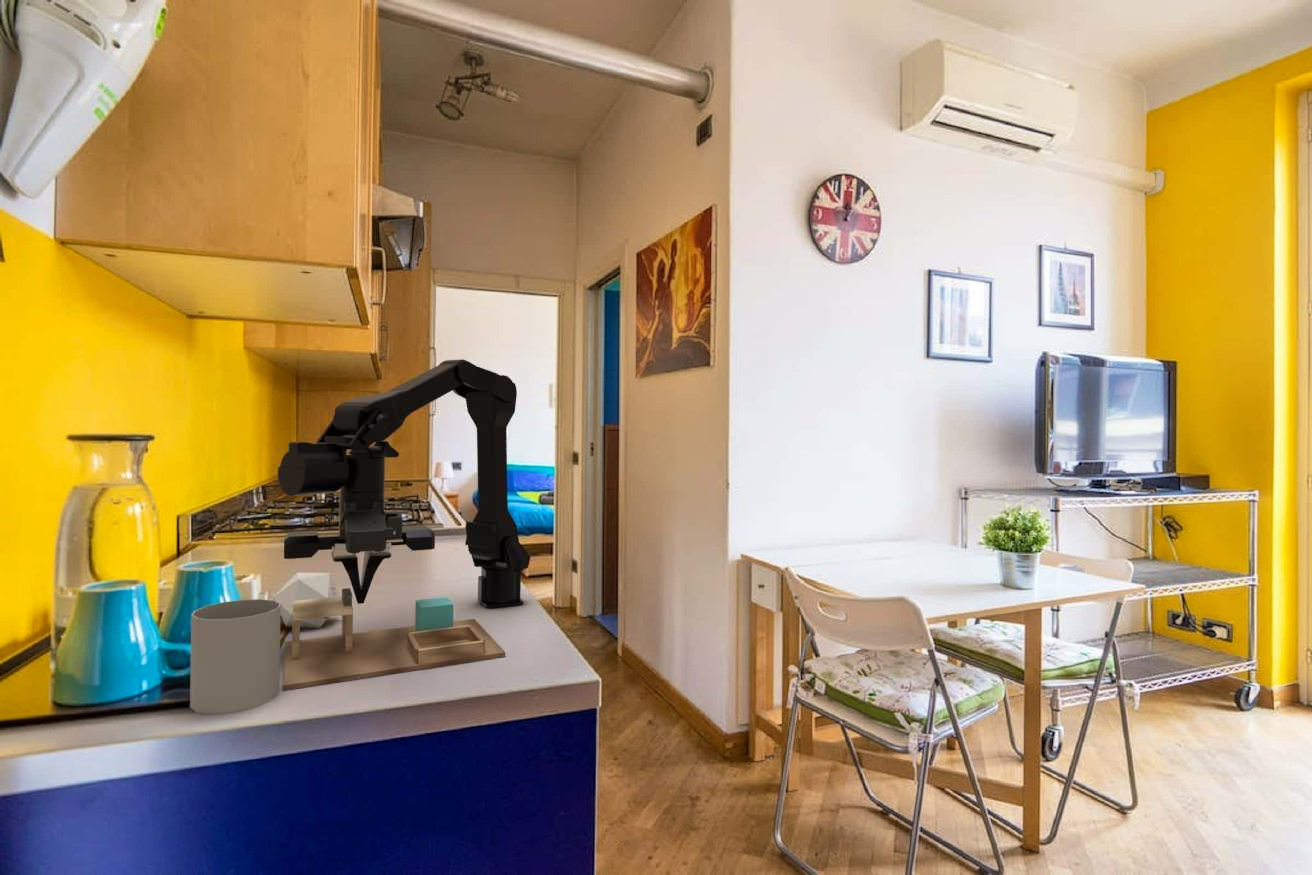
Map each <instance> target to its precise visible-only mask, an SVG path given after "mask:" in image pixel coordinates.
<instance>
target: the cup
mask: <svg viewBox="0 0 1312 875" xmlns="http://www.w3.org/2000/svg"><path fill="white" fill-rule="evenodd" d="M280 611H281V603H279V602H276V601H274V599H273V600H271V599H261V598H260V599H259V598H258V599H257V598H255V599H239V600H230V601H223V602H218V603H213V604H210V605H209V604H208V605H205V606H203V607H200V608H198V609H196V610H193V612H192V613H191V616H190V617H191V621H190V678H189V679H190V682H189V683H190V684H189V685H190V686H189V689H190V690H189V696H190V697H189V708H190V710H192V711H193V712H195V713H196V714H205V715H221V714H222V715H223V714H232V713H237V712H241V711H245V710H251V709H254V708H257V707H259V706H261V705H264V704H267V703H269V702H270V701H272V700H273V699H275V698H276V697H278V696H279V693H280V671H281V669H280V668H281V667H280V666H281V665H280V664H281V663H280V662H281V657H280V656H281V615H280Z"/></svg>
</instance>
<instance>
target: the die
mask: <svg viewBox="0 0 1312 875" xmlns="http://www.w3.org/2000/svg"><path fill="white" fill-rule="evenodd" d="M330 597H341V596H340V594H339V592H338V589H337V586H336V584H335V582H334V580H333V577H332V575H331V572H296V573H295V574H294V575H293V576H292V577H291V578H290V579H289V580H288V581H287V582H286V583H285V584H284V585H283V586H282V587H281V588H280V589H279V590H278V592H276V593H275V594H274V595H273V597H272V599H273V600H274V601H276V602H279V603H281V611H280V618H282V621H283V623H284V626H285V625H291V626H292V620H293V601H299V600H310V599H320V598H330ZM328 619H329V617H322V618H313V619H304V620H300V628H321V627H322V626H323V624H324V623H325V622H326V621H327V620H328Z"/></svg>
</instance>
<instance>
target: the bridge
mask: <svg viewBox="0 0 1312 875" xmlns="http://www.w3.org/2000/svg"><path fill="white" fill-rule="evenodd" d="M352 593H353V592H352V591H351V588H350V587H348V588H347V587H346V588H341V596H340V597H330V598H320V599H310V600H299V601H293V620H292V627H291V628H292V630H291V631H292V632H291V634H292V635H291V637H292V638H291V639H292V640H291V641H292V660H294V659H299V643H300V640H301V639H300V634H301V633H300V632H301V630H300V629H301V627H300V620H304V619H313V618H322V617H328V618H330V617H341V635H342V638H345V637H346V639H345V652H352V644H353V634H354V633H353V632H354V628H353V627H354V607H353V594H352Z"/></svg>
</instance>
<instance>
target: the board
mask: <svg viewBox="0 0 1312 875" xmlns="http://www.w3.org/2000/svg"><path fill="white" fill-rule="evenodd" d="M345 639H346V637H345V638H342V634H339V635H331V636H323V637H322V636H321V637H314V638H306V639H300V643H299V659H294V660H292V640H290V641H284V653H283V654H284V656H283V682H282V687H283V688H282V691H283V692H284V691H289V690H296V689H303V688H308V687H309V688H310V687H316V686H322V685H328V684H329V685H330V684H335V683H341V682H342V683H343V682H348V681H355V680H361V679H367V678H368V679H369V678H374V677H375V678H376V677H381V676H388V675H394V674H401V673H406V672H407V673H408V672H412V671H413V672H414V671H418V670H419V671H420V670H426V669H432V668H440V667H445V666H446V667H447V666H452V665H460V664H466V663H472V662H478V661H479V662H481V661H484V660H485V661H486V660H492V659H497V658H499V659H500V658H505V657H506V651H505V650H504V649H503V647H501V645H499V644H498V642H497V641H496V640H495V639H494V638H493V637H492V636H491V635H490V634H489V633H488V632H487V631H486V630H485V628H484V627H482V625H480V623H479V622H478V621H477V620H476V619H475V618H469V619H463V620H462V619H461V620H455V621H454V620H453V627H449V628H441V629H434V630H426V631H418V632H416V631H415V625H413V626H406V627H398V628H397V627H396V628H395V627H394V628H388V629H379V630H373V631H372V630H371V631H362V632H357V633H356V632H355V633H353V644H352V652H345Z"/></svg>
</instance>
